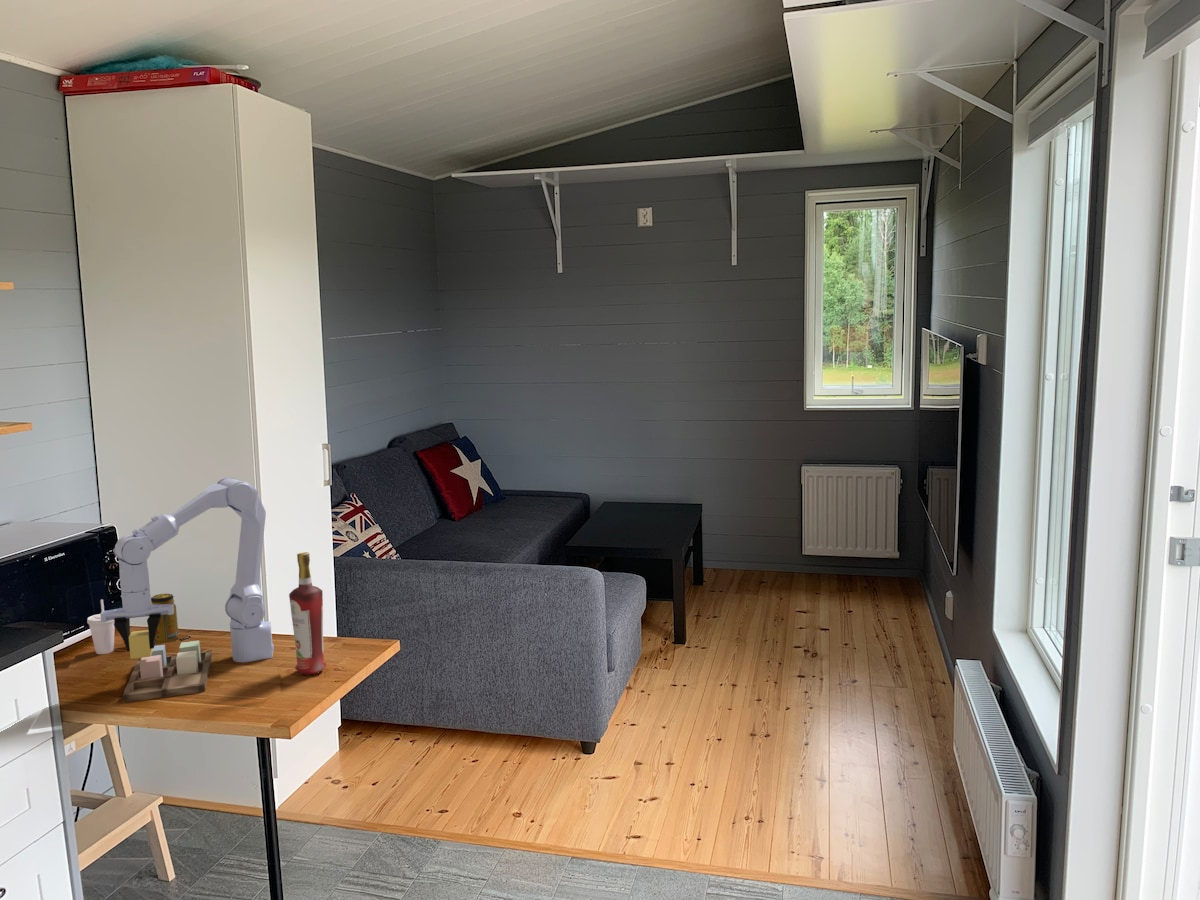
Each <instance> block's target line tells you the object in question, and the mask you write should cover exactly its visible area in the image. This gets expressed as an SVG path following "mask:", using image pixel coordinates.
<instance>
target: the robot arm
mask: <svg viewBox="0 0 1200 900" xmlns="http://www.w3.org/2000/svg"><path fill="white" fill-rule="evenodd" d="M219 508H220V509H221V508H223V509H225V508H230V509H232V510H233V511H234V512H235V514H237V516H239V517H240V518H241V523H240V531H239V544H238V551H237V552H238V554H237V560H236V561H237V562H236V574H235V582H234V584H233V585H232V587H231V588H230V591H229V592H230V593H229V597H228V598H227V600H226V602H225V604H224V611H225V614H226V615H227V616H228V617H229V618H230V622H229V628H230V644H231V655H232V661H234V662H237V663H248V662H254V661H260V660H267V659H268V660H269V659H273V655H274V652H275V646H274V645H275V644H274V643H273V633H272V624H271V623H272V622H271V621H263V620H264V618H265V616H266V608H265V605H264V603H263V600H264V595H263V593H262V590H261V587H260V577H261V576H260V575H261V565H262V556H263V555H262V554H263V546H264V537H265V536H264V535H265V534H264V533H265V528H266V527H265V526H266V525H265V524H266V514H267V513H266V509H265V507H264V504H263V503H262V500H261V499H260V495H259V490H258V489H256V488H255V487H254V486H253V485H252V484H250V483H249V482H247V481H244V480H238V479H236V478H233V477H229V476H228V477H223V478H221V479H219V480H218V481H217V482H214V483H212V484H210V485H209V486H208V487H207V488H206V489H203V491H202V492H200V493H199V494H197V495H196V496H195V497H193V498H192V499H190V500H189V501H188V502H187V503H185V504H184V505H182V506H181V507H179V508H178V509H177V510H175V511H174V512H173V513H171V514H160V515H156V514H155V515H153V516H152V517H150V520H151V521H149V522H147V523H146V524H145V525H143V526H141V527H140V528H139V529H137V528H134V529H133V530H132V531H131V533H132V534H127V535H123V536H122V537H120V538H119V539H118V540H117V541H116V543H115V546H114V548H113V549H112V550H113V554H114V555H115V557H116V558H117V559H118V565H119V571H118V572H119V582H120V583H119V584H120V591H121V601H122V607H119V608H114V609H109V610H104V611H102V610H101V612H100V613H99V614H100V615H101V622H106V621H108V620H114V626H115V629H116V631H117V632H118V633H119V635H120V637H121V639H122V640H123V643H124V645H125V649H126V651H127V652H130V647H129V635H130V634H131V626H130V625H131V624H130V623H131V621H130V619H135V618H143V617H148V618H147V620H146V622H147V628H148V629H147V630H149V645H150V649H153V648H154V646H156V644H155V636H156V631H157V628H158V624H159V621H160V619H161V616H162V615H165V614H168V615H173V613H174V606H173V604H162V605H151V588H150V587H151V586H150V576H149V567H148V559H149V558H150V555H151V553H152V552H154V551H156V549H158V548H159V547H161V546H162V545H164V544H165V543H167V542H168V541H170V540H171V539H173V538H175V537H176V536H177V535H178V534H179V531H180V527H182V526H183V525H184V524H187V523H188V522H190V521H192V520H194V519H195V518H197V517H198V516H200V515H201V514H203V513H206V512H207V511H208V510H210V509H219Z"/></svg>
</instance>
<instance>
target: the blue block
mask: <svg viewBox="0 0 1200 900" xmlns="http://www.w3.org/2000/svg"><path fill="white" fill-rule="evenodd" d="M166 653H167V651H166V644H160V645H159V644H158V645H157V644H156V645H155V646H154V648H153V652H152V654H151V656H156V655H161V658H162V666H167V662H166V656H167V654H166Z"/></svg>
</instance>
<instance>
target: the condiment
mask: <svg viewBox="0 0 1200 900" xmlns="http://www.w3.org/2000/svg"><path fill="white" fill-rule="evenodd" d="M162 604H173V606H174V613H173V615H168V614H165V615H162V616H161V619H160V621H159V624H158V628H157V631H156V636H155V645H157V644H158V645H159V644H164V643H165V644H166V643H174V642H177V641H176V640H178V639H179V638H178V634H179V625H178V616H177V615H178V613H177V606H176V604H175V600H174V595H173V594H171V593H160V594H155V595H153V596H152V597H151V605H162ZM189 636H190V637H185V638H184V639H181V640H180V641H183V640H186V639H188V638H191V637H192V635H189Z"/></svg>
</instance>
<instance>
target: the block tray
mask: <svg viewBox="0 0 1200 900" xmlns="http://www.w3.org/2000/svg"><path fill="white" fill-rule="evenodd" d="M177 654H178V653H177ZM177 654H171V655H166V662H167V666H162V669H163V677H158V678H151V679H143V680H141V673H140V661H141V658H137V661H136V663H135V666H134V668H133V669H132V670H133V671H132V672H131V675H130V677H129V680H128V682H127V684H126V686H125V689H124V691H123V694H122V703H128V702H138V701H143V700H144V701H145V700H151V699H152V700H153V699H160V698H166V697H167V698H168V697H175V696H182V695H183V696H184V695H189V694H196V693H197V694H198V693H203V692H206V688H207V684H208V678H209V675H210V669H211V664H212V658H213V650H212V649H210V650H203V651H201V650H200V655H201V662H198V672H197V673H190V674H182V675H177V663H176V657H177Z"/></svg>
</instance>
